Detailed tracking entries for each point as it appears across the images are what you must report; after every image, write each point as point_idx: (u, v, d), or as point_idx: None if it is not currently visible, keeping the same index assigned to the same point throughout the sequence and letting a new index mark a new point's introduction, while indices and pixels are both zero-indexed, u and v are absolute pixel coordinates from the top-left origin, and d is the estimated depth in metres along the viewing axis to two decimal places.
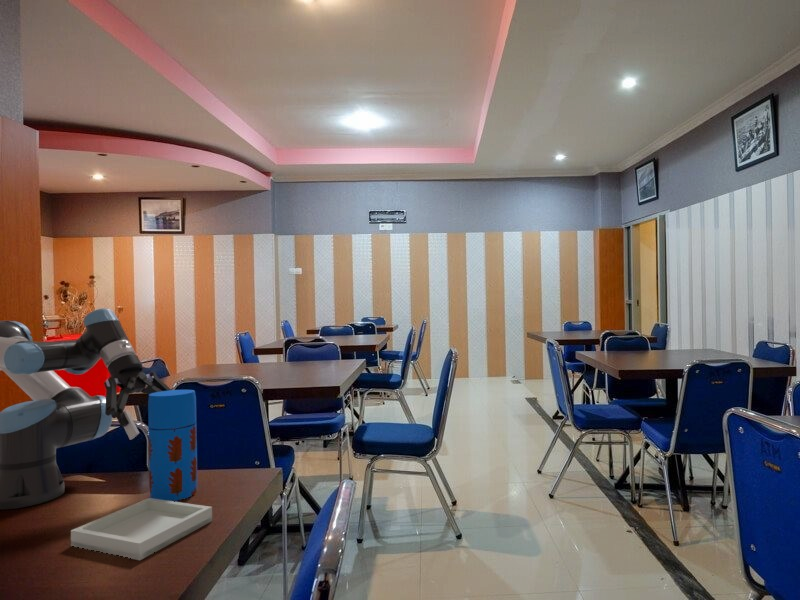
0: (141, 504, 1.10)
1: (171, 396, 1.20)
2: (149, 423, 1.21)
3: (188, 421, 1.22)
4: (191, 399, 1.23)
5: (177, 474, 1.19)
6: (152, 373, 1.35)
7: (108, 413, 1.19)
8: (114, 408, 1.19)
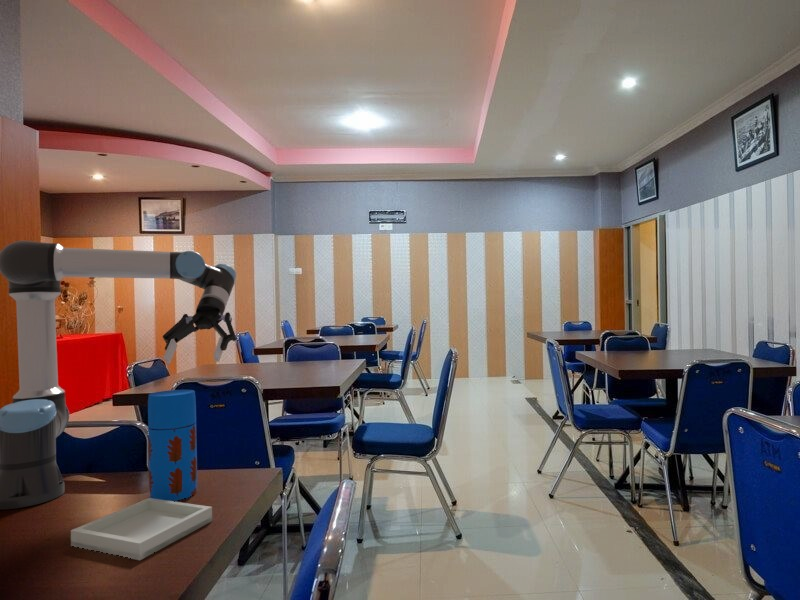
0: (141, 504, 1.10)
1: (171, 396, 1.20)
2: (149, 423, 1.21)
3: (188, 421, 1.22)
4: (191, 399, 1.23)
5: (177, 474, 1.19)
6: None
7: (234, 336, 1.40)
8: None
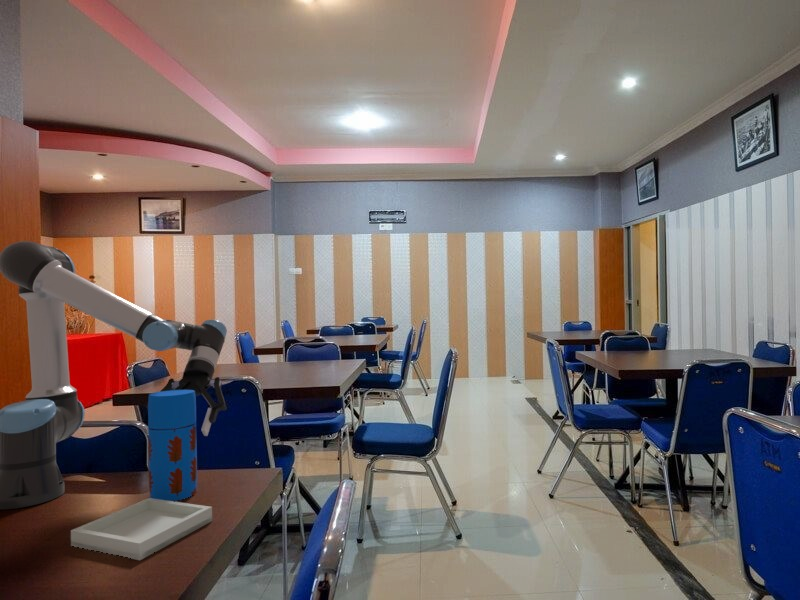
0: (141, 504, 1.10)
1: (171, 396, 1.20)
2: (149, 423, 1.21)
3: (188, 421, 1.22)
4: (191, 399, 1.23)
5: (177, 474, 1.19)
6: None
7: (223, 406, 1.29)
8: None
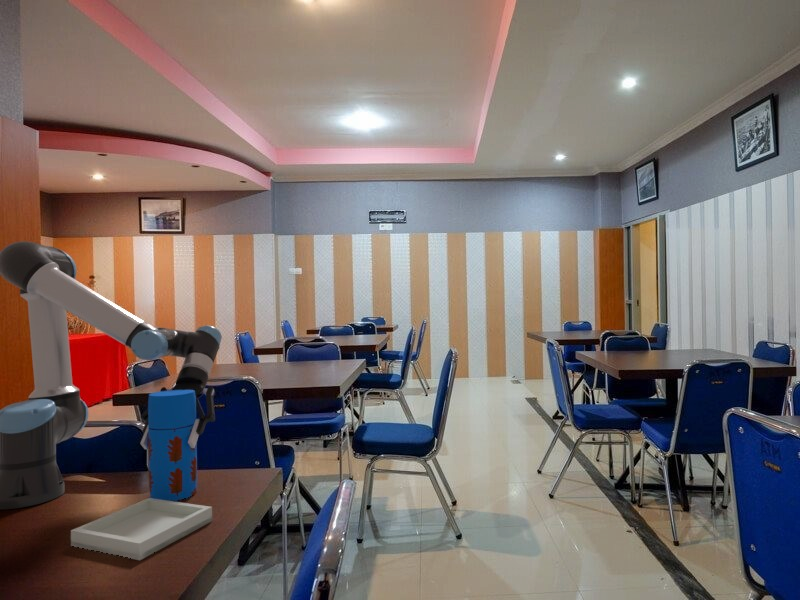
0: (141, 504, 1.10)
1: (171, 396, 1.20)
2: (149, 423, 1.21)
3: (188, 421, 1.22)
4: (191, 399, 1.23)
5: (177, 474, 1.19)
6: None
7: (211, 417, 1.26)
8: None
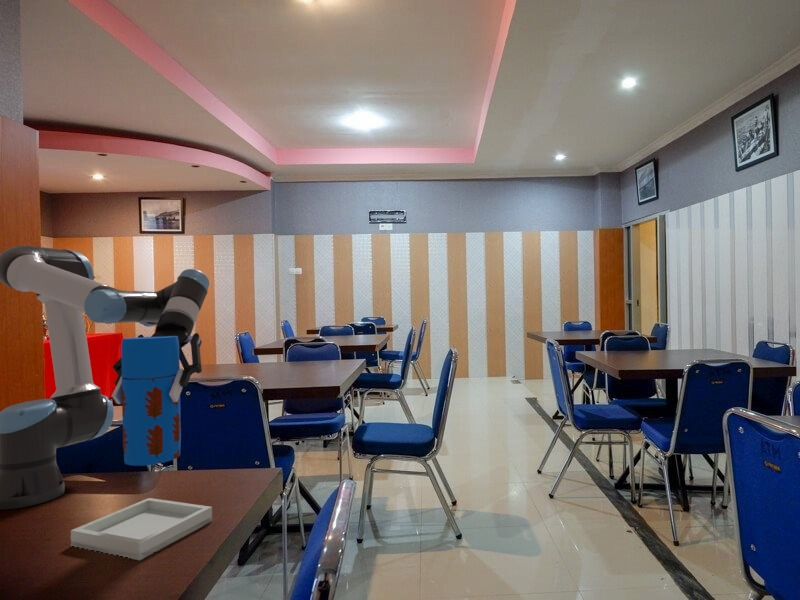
0: (141, 504, 1.10)
1: (149, 339, 1.00)
2: (122, 372, 1.01)
3: (169, 370, 1.02)
4: (173, 344, 1.04)
5: (156, 432, 1.00)
6: None
7: (197, 367, 1.07)
8: None
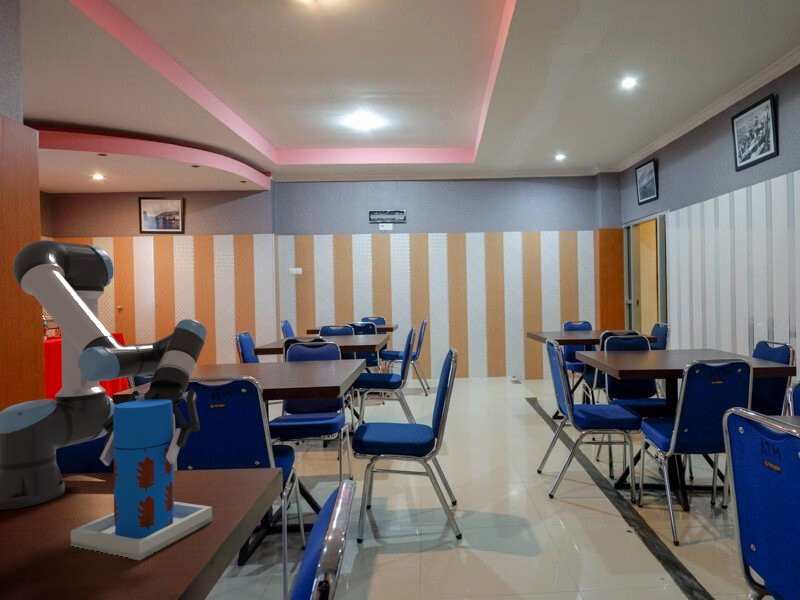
0: None
1: (141, 408, 0.98)
2: (114, 441, 0.99)
3: (162, 438, 1.00)
4: (166, 411, 1.01)
5: (148, 504, 0.97)
6: None
7: (196, 426, 1.04)
8: None
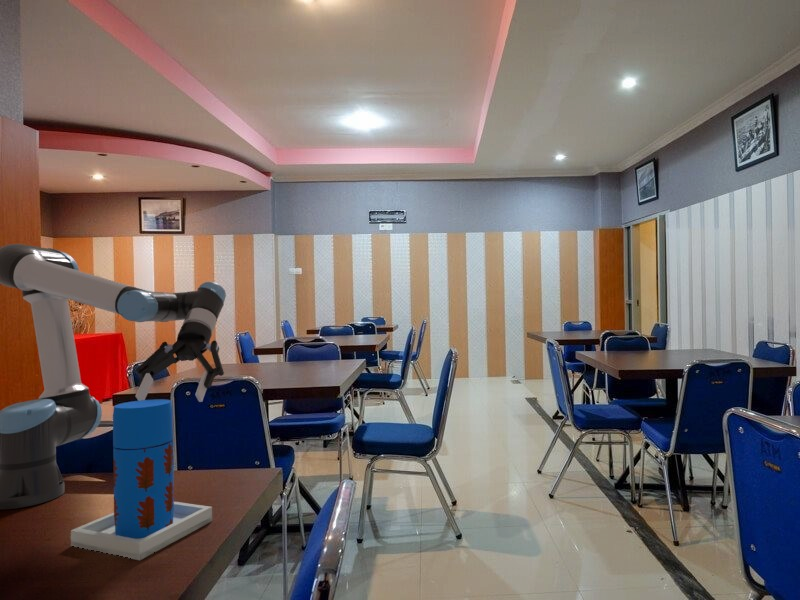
0: None
1: (141, 408, 0.98)
2: (114, 441, 0.99)
3: (162, 439, 1.00)
4: (166, 411, 1.01)
5: (148, 504, 0.97)
6: None
7: (220, 370, 1.18)
8: None
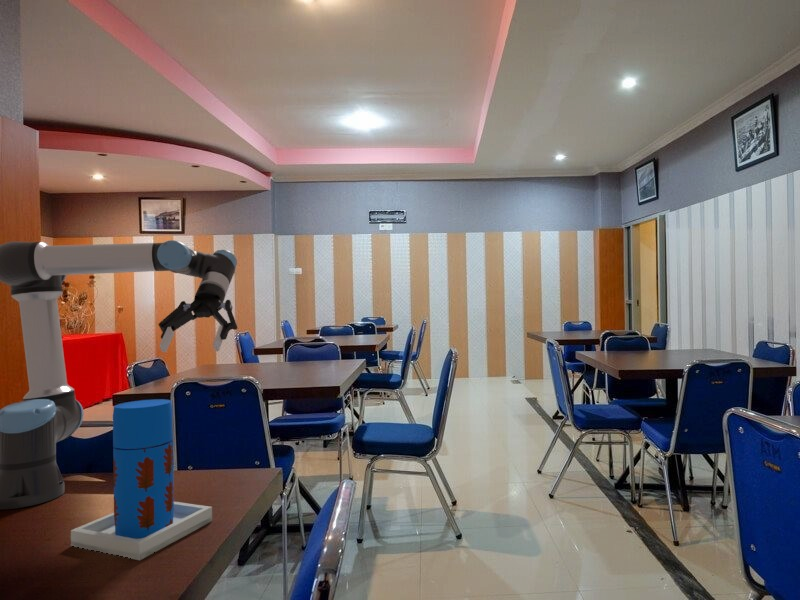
0: None
1: (141, 408, 0.98)
2: (114, 441, 0.99)
3: (162, 439, 1.00)
4: (166, 411, 1.01)
5: (148, 504, 0.97)
6: None
7: (234, 324, 1.31)
8: None
